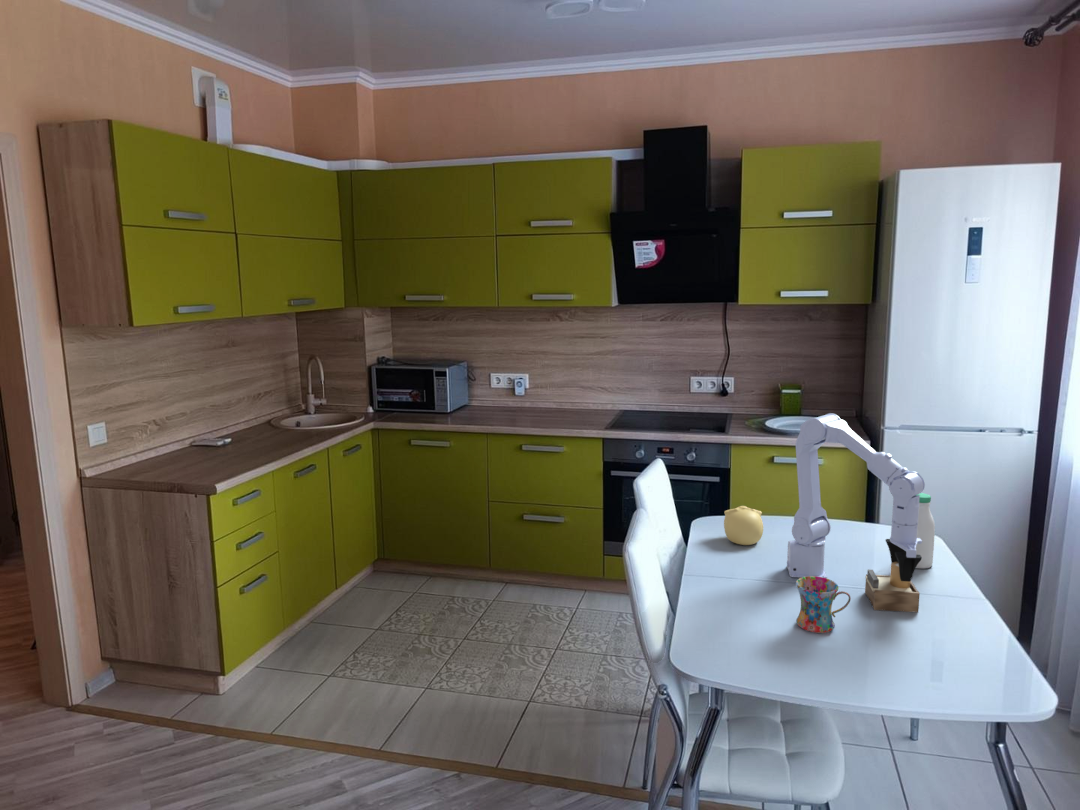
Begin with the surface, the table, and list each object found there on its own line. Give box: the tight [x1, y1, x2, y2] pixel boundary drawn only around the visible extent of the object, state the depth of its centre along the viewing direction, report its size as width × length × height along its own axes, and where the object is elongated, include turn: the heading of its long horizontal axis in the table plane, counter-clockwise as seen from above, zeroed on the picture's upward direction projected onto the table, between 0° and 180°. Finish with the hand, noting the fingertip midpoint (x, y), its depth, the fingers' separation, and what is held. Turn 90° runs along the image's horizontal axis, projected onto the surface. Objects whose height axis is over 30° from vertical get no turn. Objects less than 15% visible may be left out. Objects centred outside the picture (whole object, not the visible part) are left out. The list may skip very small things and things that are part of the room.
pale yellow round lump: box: [723, 505, 764, 546], centre depth 232 cm, size 12×12×11 cm
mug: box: [795, 576, 852, 634], centre depth 178 cm, size 12×9×11 cm
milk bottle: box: [915, 492, 936, 570], centre depth 211 cm, size 8×8×20 cm
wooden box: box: [864, 574, 921, 613], centre depth 190 cm, size 10×10×5 cm
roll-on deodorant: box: [889, 562, 912, 588], centre depth 189 cm, size 5×5×5 cm
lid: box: [865, 568, 913, 592], centre depth 190 cm, size 9×8×3 cm
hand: (901, 574), depth 189 cm, fingers open, 7 cm apart
